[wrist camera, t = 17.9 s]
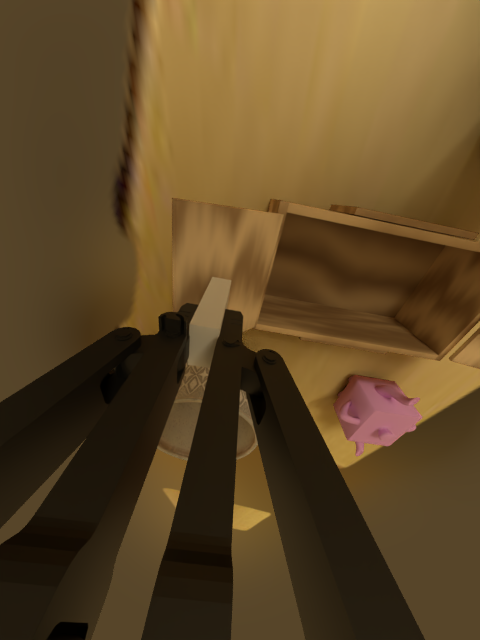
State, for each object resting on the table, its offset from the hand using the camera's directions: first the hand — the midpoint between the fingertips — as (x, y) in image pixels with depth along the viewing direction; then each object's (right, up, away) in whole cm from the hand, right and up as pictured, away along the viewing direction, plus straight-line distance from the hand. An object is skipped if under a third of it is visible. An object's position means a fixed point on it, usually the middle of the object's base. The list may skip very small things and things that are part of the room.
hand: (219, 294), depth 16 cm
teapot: (+29, -17, +29) cm, 44 cm away
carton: (+17, +6, +15) cm, 23 cm away
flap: (+4, +2, +5) cm, 7 cm away
